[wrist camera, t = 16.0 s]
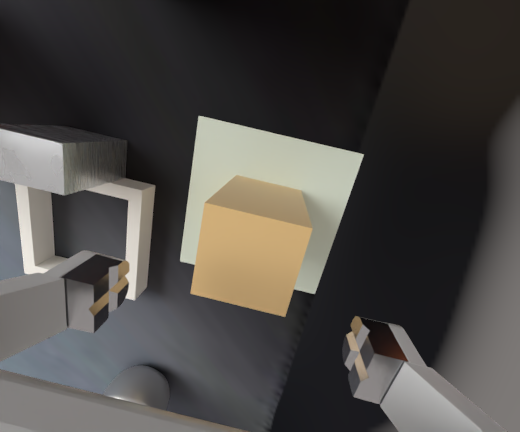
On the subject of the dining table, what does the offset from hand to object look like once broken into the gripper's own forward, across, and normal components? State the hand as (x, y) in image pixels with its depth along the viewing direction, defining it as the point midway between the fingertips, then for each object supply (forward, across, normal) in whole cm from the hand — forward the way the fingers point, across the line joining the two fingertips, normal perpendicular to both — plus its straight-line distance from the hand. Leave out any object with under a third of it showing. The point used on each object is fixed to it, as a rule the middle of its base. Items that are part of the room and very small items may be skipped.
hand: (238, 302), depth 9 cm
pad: (+12, 0, 0) cm, 12 cm away
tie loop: (+12, +14, +4) cm, 19 cm away
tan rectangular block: (+11, 0, 0) cm, 11 cm away
